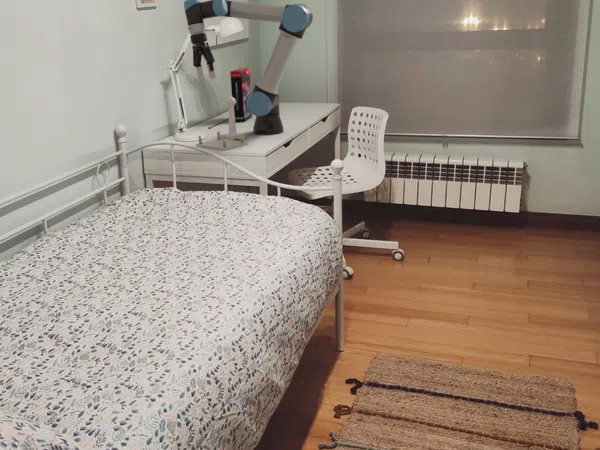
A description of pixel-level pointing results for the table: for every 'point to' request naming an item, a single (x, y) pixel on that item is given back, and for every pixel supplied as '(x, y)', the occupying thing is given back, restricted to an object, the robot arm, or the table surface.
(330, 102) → the table surface
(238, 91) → the graphics card box
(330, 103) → the table surface
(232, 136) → the joystick
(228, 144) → the plate
